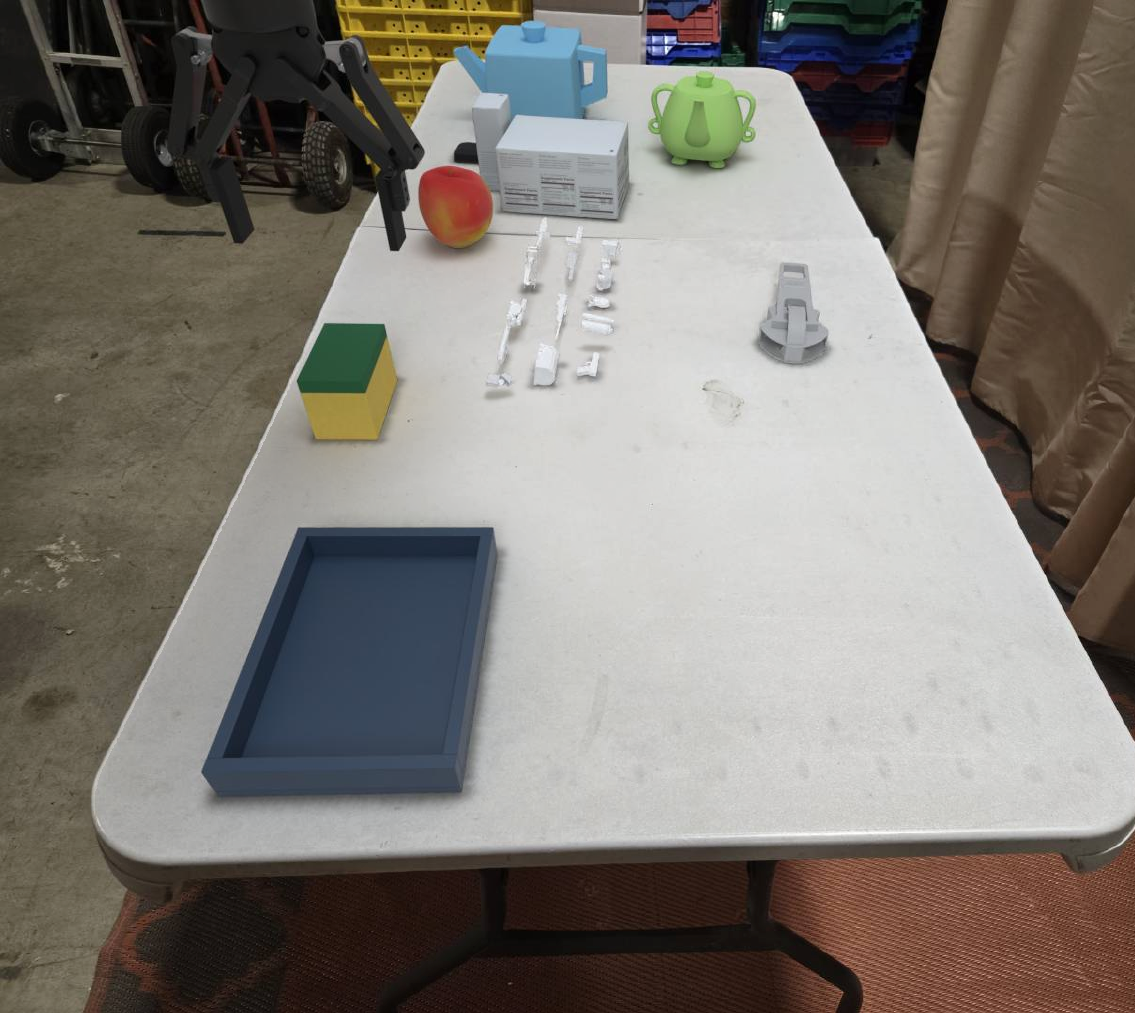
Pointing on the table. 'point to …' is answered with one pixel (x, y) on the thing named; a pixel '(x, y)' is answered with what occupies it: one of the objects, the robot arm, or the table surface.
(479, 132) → the cosmetic box
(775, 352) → the zipper pull
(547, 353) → the miniature set
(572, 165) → the supplement box
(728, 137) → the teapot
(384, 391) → the sponge
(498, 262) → the table surface
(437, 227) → the apple
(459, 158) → the remote control
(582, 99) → the container
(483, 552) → the tray
